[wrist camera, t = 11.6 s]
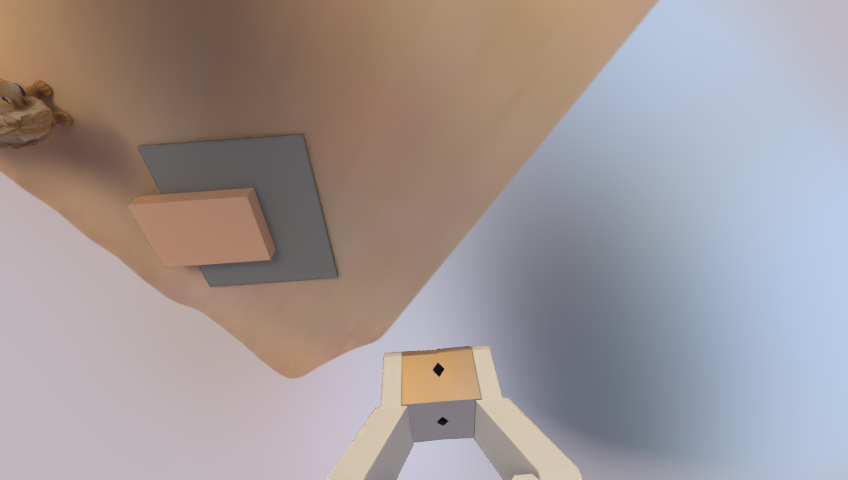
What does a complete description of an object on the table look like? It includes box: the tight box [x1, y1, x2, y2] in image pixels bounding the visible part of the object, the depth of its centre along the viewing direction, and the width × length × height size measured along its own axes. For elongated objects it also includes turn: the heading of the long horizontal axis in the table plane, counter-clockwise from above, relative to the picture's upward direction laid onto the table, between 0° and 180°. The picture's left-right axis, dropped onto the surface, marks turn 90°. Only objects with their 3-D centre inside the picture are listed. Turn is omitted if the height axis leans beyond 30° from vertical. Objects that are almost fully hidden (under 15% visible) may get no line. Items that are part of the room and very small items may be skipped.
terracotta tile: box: [127, 188, 276, 268], centre depth 39 cm, size 8×2×12 cm
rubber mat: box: [137, 134, 338, 287], centre depth 40 cm, size 18×16×1 cm
